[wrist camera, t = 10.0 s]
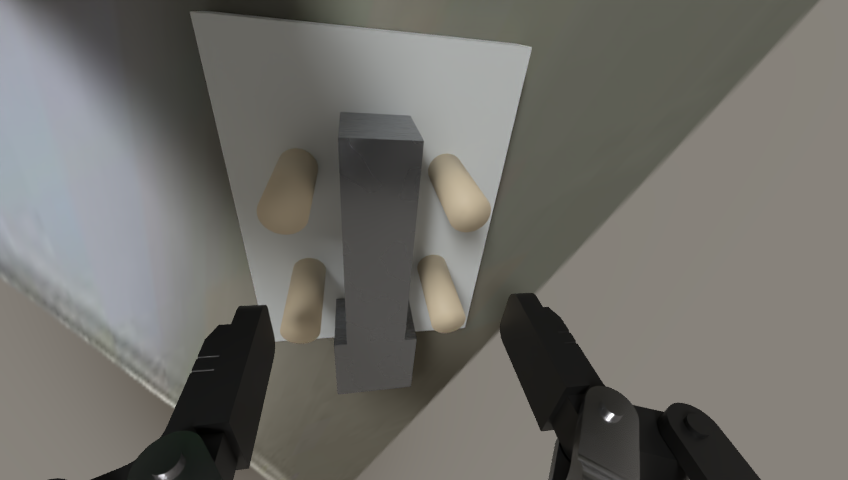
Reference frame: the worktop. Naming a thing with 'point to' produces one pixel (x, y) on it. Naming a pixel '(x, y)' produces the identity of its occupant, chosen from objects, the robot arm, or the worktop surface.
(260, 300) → the rack
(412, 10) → the worktop surface
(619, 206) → the worktop surface
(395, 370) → the grey long block
